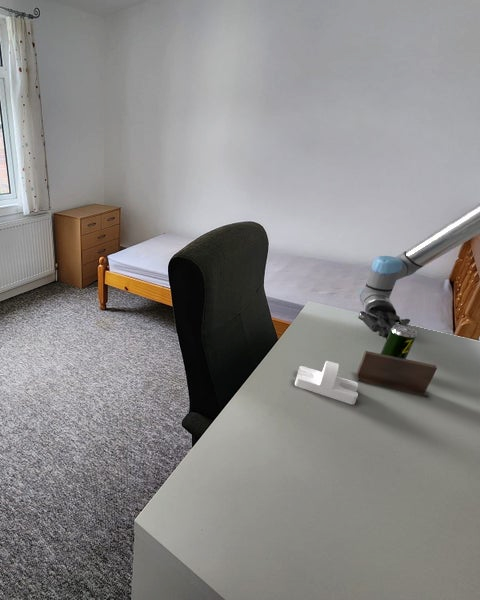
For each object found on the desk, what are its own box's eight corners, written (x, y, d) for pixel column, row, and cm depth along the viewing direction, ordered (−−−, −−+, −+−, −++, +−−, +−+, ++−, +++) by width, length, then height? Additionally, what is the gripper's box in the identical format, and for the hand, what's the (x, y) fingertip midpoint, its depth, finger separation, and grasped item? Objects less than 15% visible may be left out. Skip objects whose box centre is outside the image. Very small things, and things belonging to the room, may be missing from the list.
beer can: (373, 363, 99) (388, 328, 94) (381, 357, 101) (396, 322, 96) (397, 373, 95) (413, 336, 90) (404, 366, 97) (421, 330, 92)
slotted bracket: (354, 390, 89) (364, 366, 85) (354, 405, 84) (364, 380, 80) (297, 372, 96) (304, 349, 93) (294, 385, 91) (301, 361, 88)
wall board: (422, 390, 88) (435, 365, 85) (426, 397, 85) (439, 372, 82) (355, 374, 94) (365, 350, 91) (357, 381, 92) (367, 356, 89)
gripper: (400, 323, 114) (419, 359, 96) (352, 315, 121) (361, 347, 102) (408, 303, 111) (429, 336, 93) (358, 296, 117) (369, 325, 99)
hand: (394, 342), depth 98 cm, fingers closed
